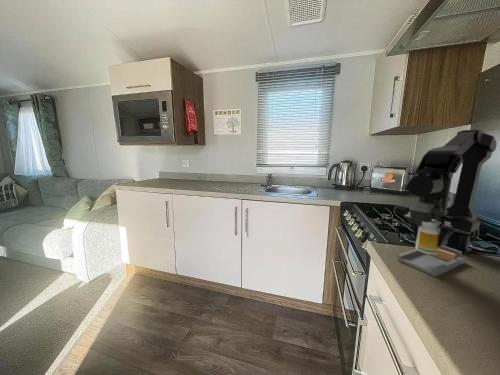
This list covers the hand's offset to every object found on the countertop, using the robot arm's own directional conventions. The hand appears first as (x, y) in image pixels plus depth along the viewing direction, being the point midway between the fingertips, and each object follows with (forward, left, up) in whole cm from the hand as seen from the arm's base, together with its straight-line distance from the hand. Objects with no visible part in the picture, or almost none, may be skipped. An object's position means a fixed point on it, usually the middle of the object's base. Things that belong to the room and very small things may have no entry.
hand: (427, 242), depth 63 cm
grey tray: (-4, 0, -7) cm, 8 cm away
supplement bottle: (0, 0, -3) cm, 3 cm away
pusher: (-9, 0, -7) cm, 11 cm away
